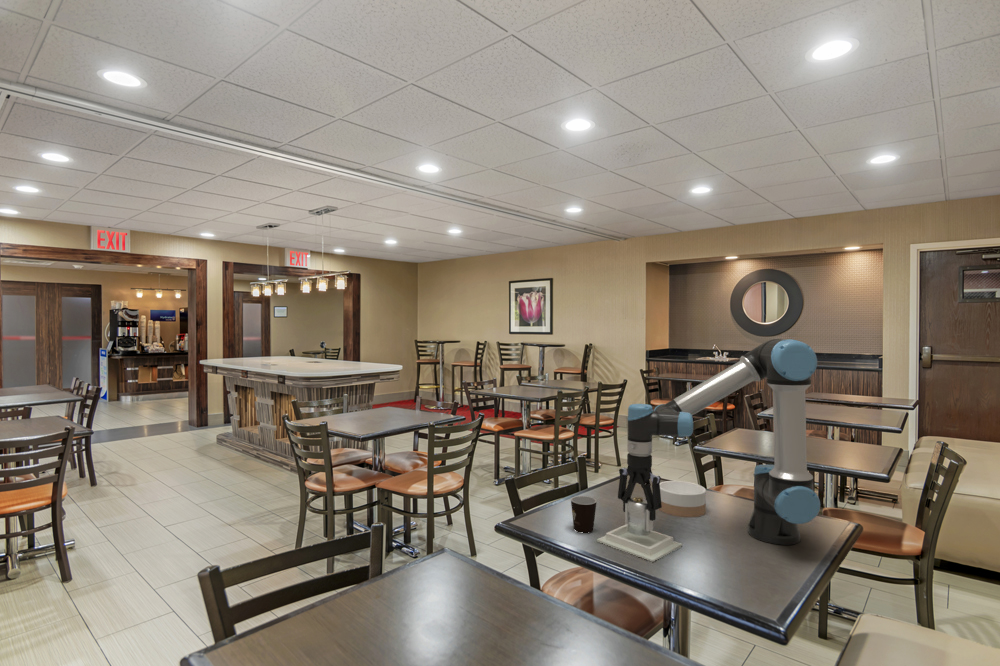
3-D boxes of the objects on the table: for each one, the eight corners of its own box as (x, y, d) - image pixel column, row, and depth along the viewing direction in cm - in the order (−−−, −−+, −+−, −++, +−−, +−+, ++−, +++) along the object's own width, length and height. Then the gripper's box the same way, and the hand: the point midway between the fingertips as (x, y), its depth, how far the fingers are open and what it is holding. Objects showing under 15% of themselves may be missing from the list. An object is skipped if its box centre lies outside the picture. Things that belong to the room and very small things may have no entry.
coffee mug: (596, 535, 170) (596, 505, 169) (569, 533, 171) (569, 503, 171) (596, 522, 181) (597, 494, 181) (572, 520, 183) (572, 492, 183)
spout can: (654, 531, 163) (655, 496, 163) (642, 537, 158) (642, 501, 158) (635, 525, 168) (635, 490, 168) (622, 530, 163) (623, 495, 163)
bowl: (654, 500, 205) (654, 479, 204) (699, 502, 202) (699, 481, 202) (661, 516, 188) (661, 493, 187) (711, 518, 185) (711, 495, 185)
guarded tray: (682, 546, 161) (682, 537, 161) (652, 563, 150) (652, 553, 150) (627, 528, 176) (627, 519, 176) (596, 541, 165) (596, 533, 165)
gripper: (606, 449, 168) (605, 520, 168) (661, 461, 153) (661, 539, 153) (619, 446, 173) (619, 514, 173) (674, 457, 158) (674, 532, 158)
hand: (638, 526), depth 163 cm, fingers closed on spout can, 7 cm apart
